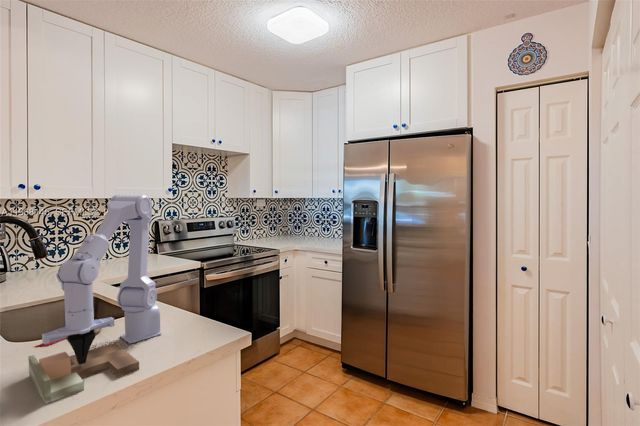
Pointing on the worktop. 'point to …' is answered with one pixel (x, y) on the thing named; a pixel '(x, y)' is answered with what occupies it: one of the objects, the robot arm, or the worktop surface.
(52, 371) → the block
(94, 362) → the blocky structure
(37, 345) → the cayenne pepper
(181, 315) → the worktop surface
